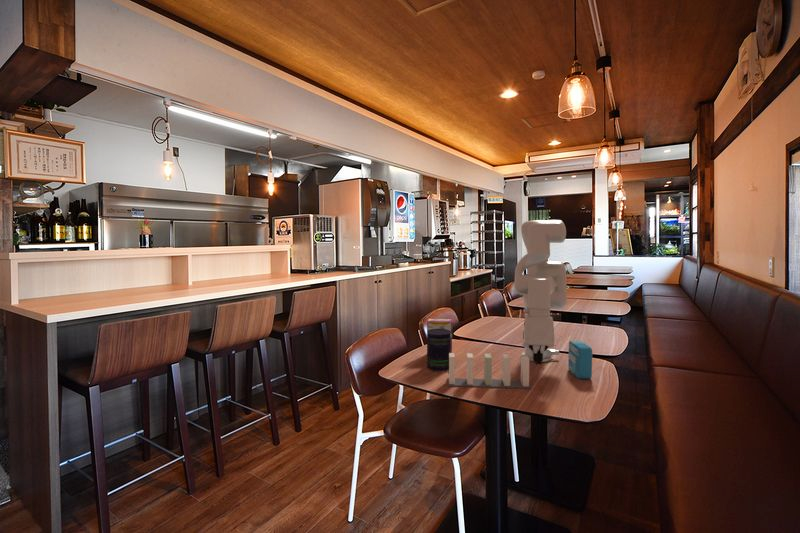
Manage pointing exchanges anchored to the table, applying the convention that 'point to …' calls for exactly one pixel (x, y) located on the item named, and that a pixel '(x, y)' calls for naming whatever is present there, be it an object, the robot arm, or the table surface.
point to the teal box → (580, 359)
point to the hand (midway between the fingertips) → (537, 363)
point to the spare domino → (487, 369)
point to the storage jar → (438, 349)
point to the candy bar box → (440, 327)
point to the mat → (494, 384)
